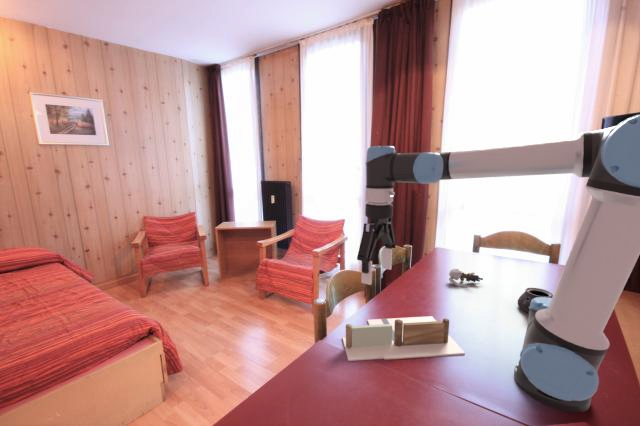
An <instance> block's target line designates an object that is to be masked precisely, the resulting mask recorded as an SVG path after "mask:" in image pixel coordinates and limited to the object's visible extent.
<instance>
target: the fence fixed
mask: <svg viewBox="0 0 640 426" xmlns="http://www.w3.org/2000/svg"><path fill="white" fill-rule="evenodd" d="M449 330H450V320H449V318H443V319H442V320H436V321H432V322H415V323H403V321H402V320H399V319H397V320H395V329H394V345H395V346H398V347H400V346H402V333H403V344H404V345H409V344H424V343H440V342H444V343H448V334H449Z"/></svg>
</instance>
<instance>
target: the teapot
mask: <svg viewBox="0 0 640 426" xmlns="http://www.w3.org/2000/svg"><path fill="white" fill-rule="evenodd" d="M553 294H554V293H552V292H551V291H549V290H546V289H544V288H540V287H527V288H525V291H524V292H523V293H522V294H521V295H520V296H519V298H518V299H517V305H518V307H519V308H520V309H521V310H523V311H524V312H525V313H526V312H527V313H528V314H529V310H530V309H529V306H530V303H531V300H532V299H534V298H537V297H548V298H552V297H553Z"/></svg>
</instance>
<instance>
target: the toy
mask: <svg viewBox="0 0 640 426" xmlns="http://www.w3.org/2000/svg"><path fill="white" fill-rule="evenodd" d="M475 274H476V273H475V272H473V271H471V272H468V273H467V274H466V273H465V272H463V271H461V270H460V269H459V268H452V269H450V271H449V273H448V276H449V278H448V280H449V281H448V282H450V283H452V284H453V285H454V286H455V287H457V288H469V287H474V286H475V284H469V285H468V284H467V285H465V284H461V283H458V282H456V281H458V280H460V281H463V282H464V281H466V282H473V283H475V282H481V281H483V280H484V278H482V277H480V276H479V275H475Z"/></svg>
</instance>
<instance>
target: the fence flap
mask: <svg viewBox="0 0 640 426" xmlns="http://www.w3.org/2000/svg"><path fill="white" fill-rule="evenodd" d="M345 337H346V347H347V348H351V347H363V346H378V345H392V325H391V324H381V325H369V324H367V325H366V324H365V325H352V324H351V323H347V324H345Z"/></svg>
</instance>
